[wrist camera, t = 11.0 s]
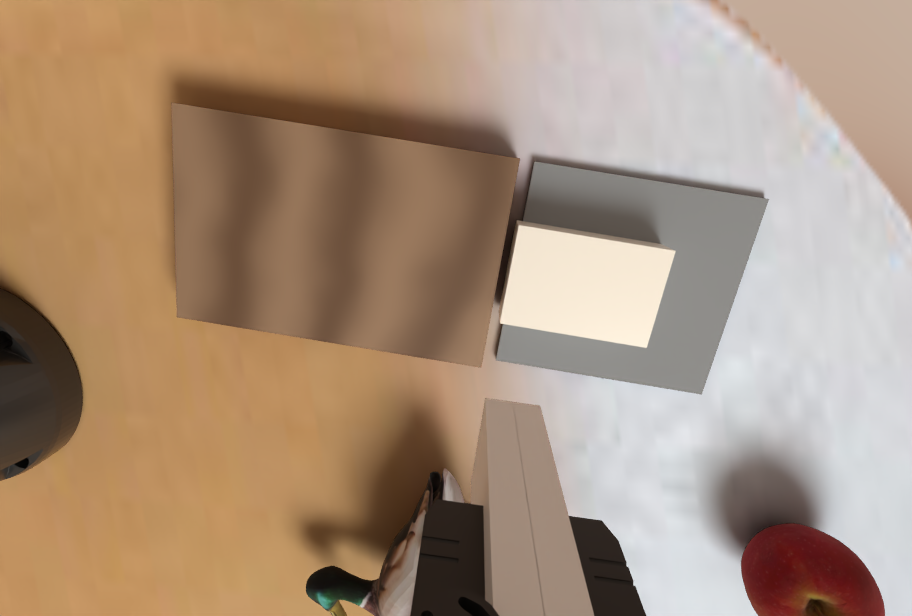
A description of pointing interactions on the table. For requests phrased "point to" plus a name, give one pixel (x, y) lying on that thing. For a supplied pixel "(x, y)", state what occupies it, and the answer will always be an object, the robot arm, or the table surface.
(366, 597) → the decorative duck model
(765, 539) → the apple
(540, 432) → the robot arm
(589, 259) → the tile
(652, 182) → the mat
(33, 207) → the table surface
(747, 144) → the table surface
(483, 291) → the brown wooden board
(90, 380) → the table surface
